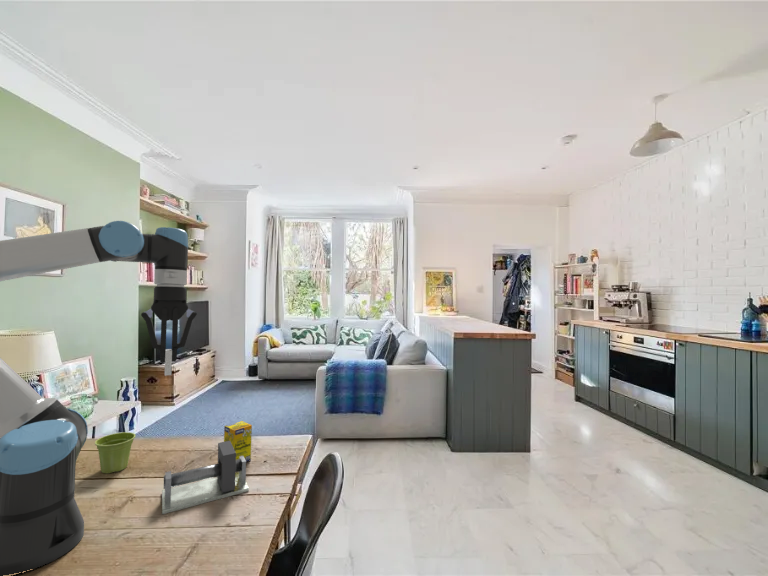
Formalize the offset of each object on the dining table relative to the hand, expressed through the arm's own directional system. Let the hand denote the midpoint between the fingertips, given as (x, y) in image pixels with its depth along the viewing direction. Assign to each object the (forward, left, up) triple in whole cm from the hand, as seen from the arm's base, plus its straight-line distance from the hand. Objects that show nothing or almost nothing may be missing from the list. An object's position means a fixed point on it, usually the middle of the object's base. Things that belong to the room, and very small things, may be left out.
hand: (167, 374), depth 94 cm
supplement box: (+19, +5, -30) cm, 36 cm away
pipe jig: (+9, -9, -29) cm, 32 cm away
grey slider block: (+14, -9, -28) cm, 33 cm away
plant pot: (-12, +18, -30) cm, 37 cm away
